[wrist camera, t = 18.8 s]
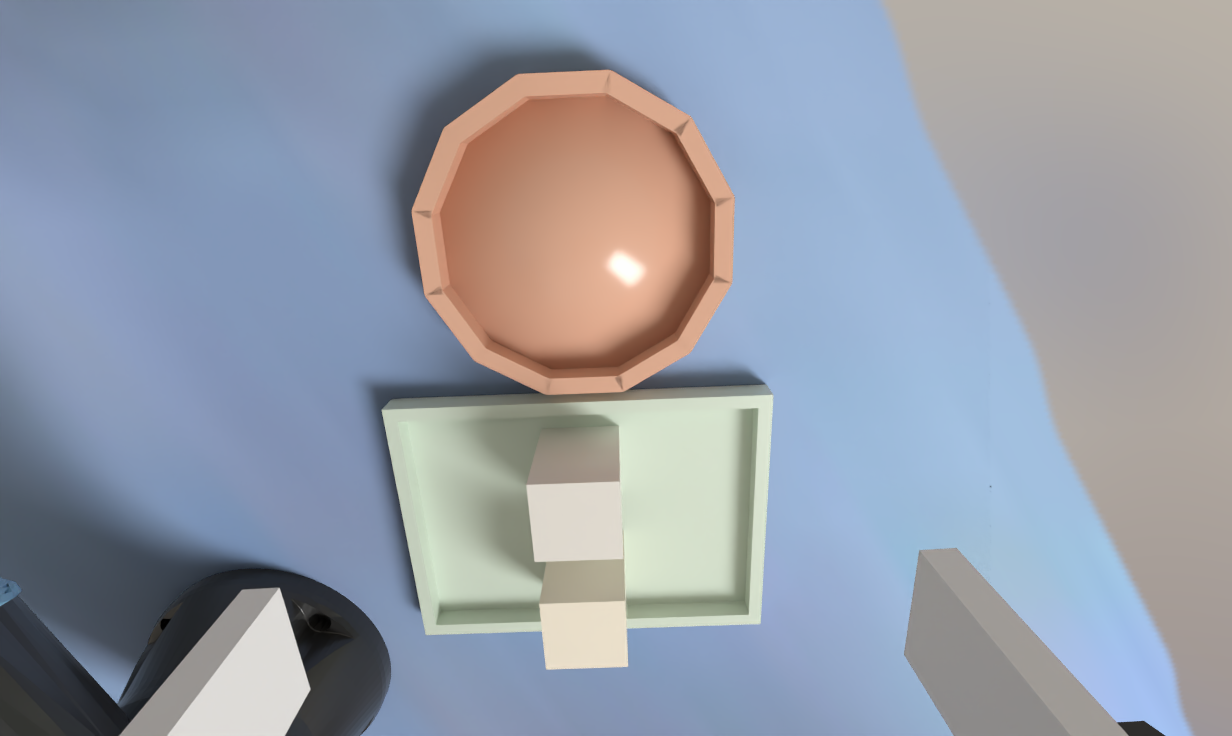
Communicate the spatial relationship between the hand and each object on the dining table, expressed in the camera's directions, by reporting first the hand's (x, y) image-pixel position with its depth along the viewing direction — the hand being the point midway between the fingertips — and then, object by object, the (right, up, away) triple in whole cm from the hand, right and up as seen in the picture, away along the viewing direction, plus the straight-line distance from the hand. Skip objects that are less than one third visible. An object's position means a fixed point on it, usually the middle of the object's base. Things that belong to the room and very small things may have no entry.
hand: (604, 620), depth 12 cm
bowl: (-2, +12, +17) cm, 21 cm away
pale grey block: (-2, 0, +21) cm, 22 cm away
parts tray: (-2, -3, +23) cm, 23 cm away
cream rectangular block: (-1, -7, +24) cm, 25 cm away
